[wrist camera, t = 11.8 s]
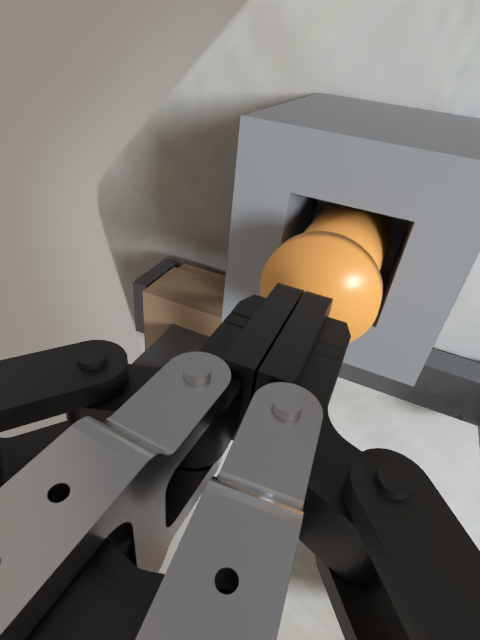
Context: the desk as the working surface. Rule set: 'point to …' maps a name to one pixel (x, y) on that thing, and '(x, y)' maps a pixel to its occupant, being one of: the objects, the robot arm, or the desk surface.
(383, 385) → the rail
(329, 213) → the button
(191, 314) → the carriage
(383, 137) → the button housing
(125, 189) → the desk surface
